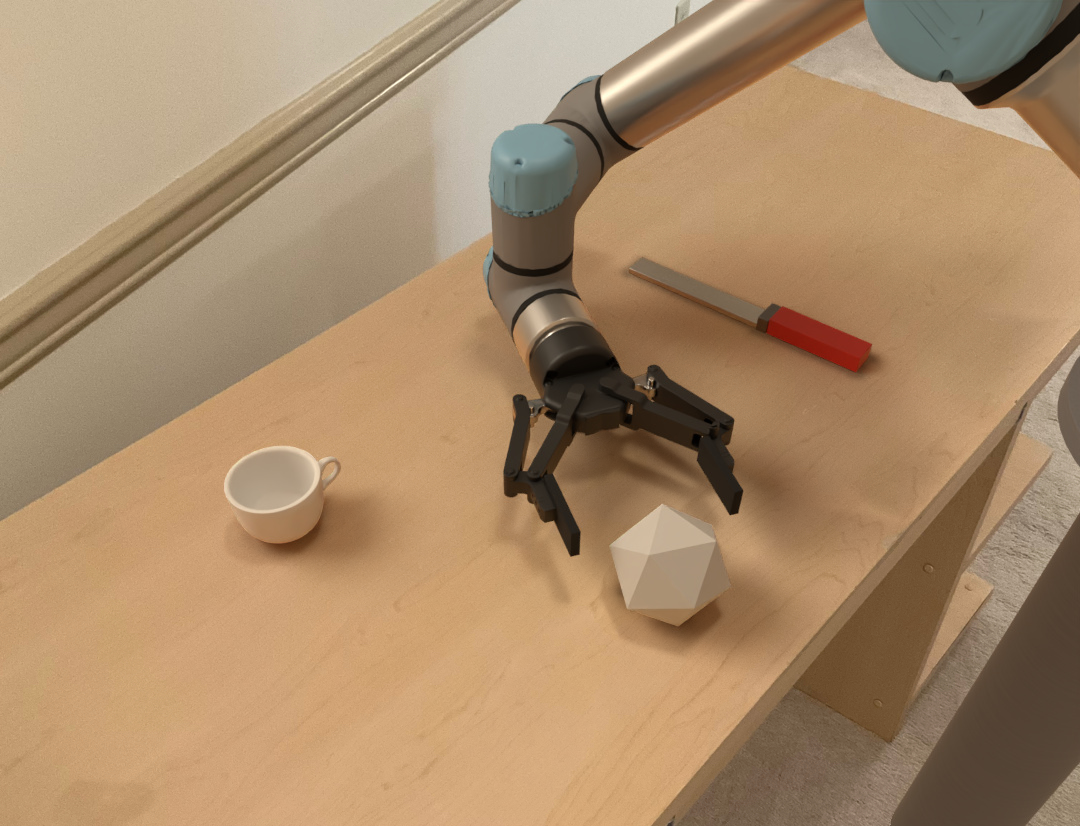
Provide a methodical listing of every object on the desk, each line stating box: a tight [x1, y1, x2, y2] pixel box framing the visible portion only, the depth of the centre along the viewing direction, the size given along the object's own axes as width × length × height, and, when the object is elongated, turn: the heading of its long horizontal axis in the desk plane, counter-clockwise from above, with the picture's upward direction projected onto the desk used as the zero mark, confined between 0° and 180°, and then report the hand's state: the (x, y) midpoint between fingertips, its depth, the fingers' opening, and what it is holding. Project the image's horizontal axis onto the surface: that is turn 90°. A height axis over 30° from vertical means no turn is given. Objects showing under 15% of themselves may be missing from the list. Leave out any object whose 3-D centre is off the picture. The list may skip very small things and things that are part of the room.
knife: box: [628, 256, 873, 373], centre depth 105 cm, size 27×3×2 cm, turn 53°
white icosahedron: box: [608, 503, 732, 627], centre depth 79 cm, size 8×9×10 cm
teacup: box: [223, 445, 342, 544], centre depth 85 cm, size 10×8×5 cm
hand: (657, 524), depth 79 cm, fingers open, 13 cm apart
